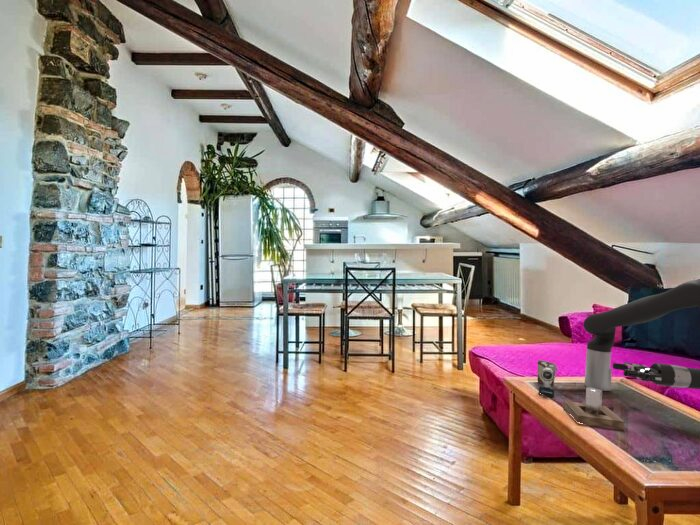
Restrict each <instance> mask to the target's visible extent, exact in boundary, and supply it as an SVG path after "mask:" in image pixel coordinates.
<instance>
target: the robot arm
mask: <svg viewBox="0 0 700 525" xmlns="http://www.w3.org/2000/svg"><path fill="white" fill-rule="evenodd" d="M695 307H698V308H699V310H700V278H698V279H693V280H688V281H686V282H683V283H681V284H678V285H677V286H675V287H672V288H670V289H668V290H666V291H664V292H660V293H658V294H653V295H648V296H645V297H641V298H638V299H635V300H633V301H631V302H627V303H625V304H623V305H619V306H618V307H615V308H612V309H610V310H607V311H603V312H600V313H599V312H598V313H594V314H590V315H588V316H587V317H586V318H585V319H584V321H583V328H584V330H585V332H586V333H588V334H590V335H593V336H594V337H593V338H592V339H591V340H589V341H588V342H587V344H586V356H585V357H586V358H585V371H584V372H585V373H584V386H585V388H587V387H591V388H596V389H599V390H602V392H603V391H605V392H607V391H610V392H611V391H612V379H613V378H612V374H613V370H618V371H619V370H620V371H623V373H622V374H623V376H624V377H628V378H629V377H630V378H636V379H637V380H641V381H643V382H651V383H653V384H655V385H658V386H665V387H672V388H687V389H693V390H694V389H695V390H700V368H693V367H686V366H681V365H675V364H666V363H659V362H654V363H652V364H651V366H650V367H648V366H647V365H644V364H641V363H639V364H638V363H634V362H626V361H624V362H623V363H621V362H620V363H618V362H613V363H612V368H611V360H612V359H611V358H612V349H613V346H614V344H615V337H616V332H617V331H616V329H617V328H618V327H628V326H635V325H639V324H644V323H649V322H651V321H656V320H657V319H660V318H662V317H664V316H666V315H668V314H670V313H672V312H675V311H679V310H684V309H688V308H689V309H690V308H695ZM612 369H613V370H612Z"/></svg>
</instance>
